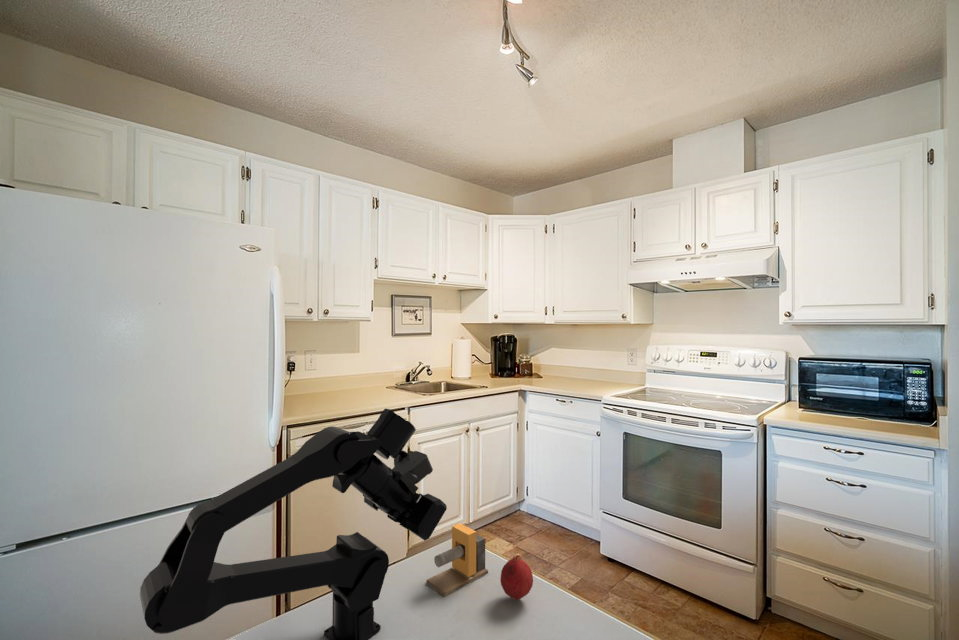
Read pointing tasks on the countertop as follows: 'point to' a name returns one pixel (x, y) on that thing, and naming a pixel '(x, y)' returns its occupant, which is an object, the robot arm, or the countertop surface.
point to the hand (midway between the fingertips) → (429, 526)
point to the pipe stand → (452, 576)
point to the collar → (467, 539)
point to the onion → (516, 578)
